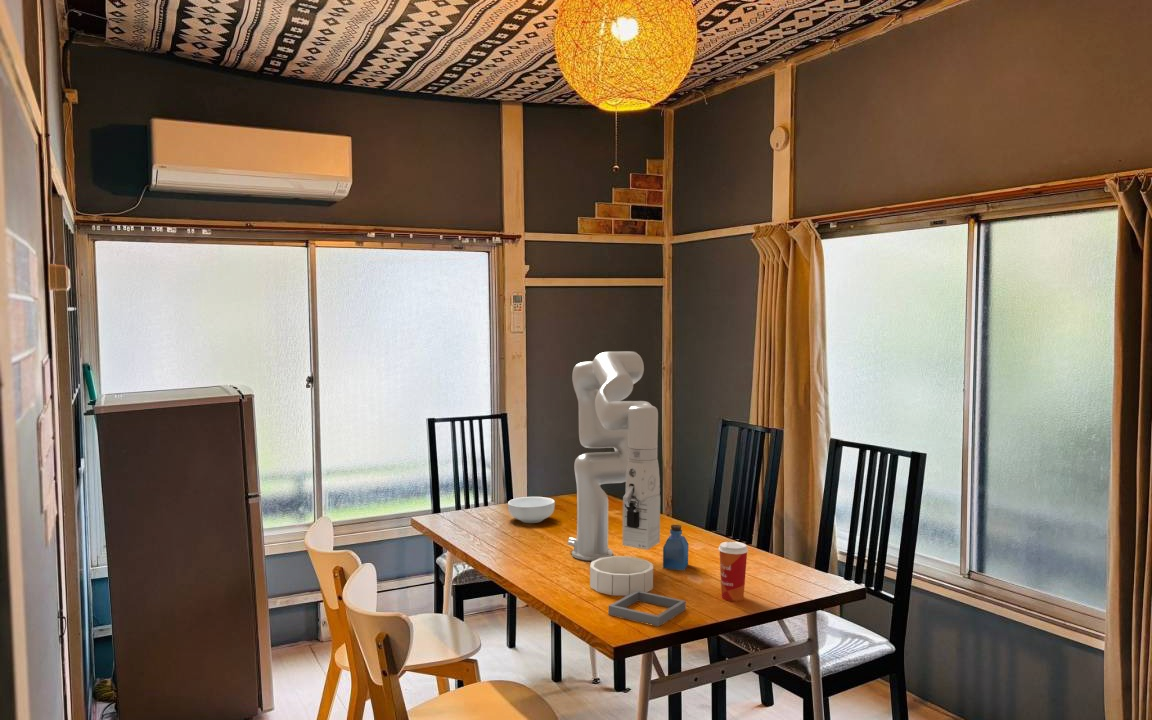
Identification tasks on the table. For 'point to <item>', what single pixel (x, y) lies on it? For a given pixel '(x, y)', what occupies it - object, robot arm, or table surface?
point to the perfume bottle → (675, 550)
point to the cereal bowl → (531, 508)
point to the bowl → (621, 575)
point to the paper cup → (733, 570)
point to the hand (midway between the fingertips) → (641, 523)
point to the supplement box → (643, 524)
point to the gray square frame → (621, 611)
